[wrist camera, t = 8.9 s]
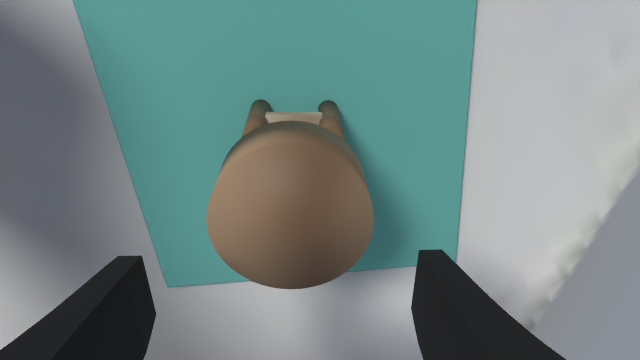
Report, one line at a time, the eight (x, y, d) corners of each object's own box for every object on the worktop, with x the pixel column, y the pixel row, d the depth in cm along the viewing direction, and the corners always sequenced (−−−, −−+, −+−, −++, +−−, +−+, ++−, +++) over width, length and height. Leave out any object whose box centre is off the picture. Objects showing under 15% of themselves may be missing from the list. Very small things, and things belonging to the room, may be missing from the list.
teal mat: (169, 281, 25) (167, 287, 24) (68, -32, 17) (62, -32, 17) (452, 256, 25) (455, 262, 24) (477, -72, 17) (482, -72, 16)
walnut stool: (240, 190, 22) (214, 289, 15) (232, 82, 19) (197, 148, 13) (349, 190, 22) (367, 288, 16) (356, 83, 19) (381, 150, 13)
